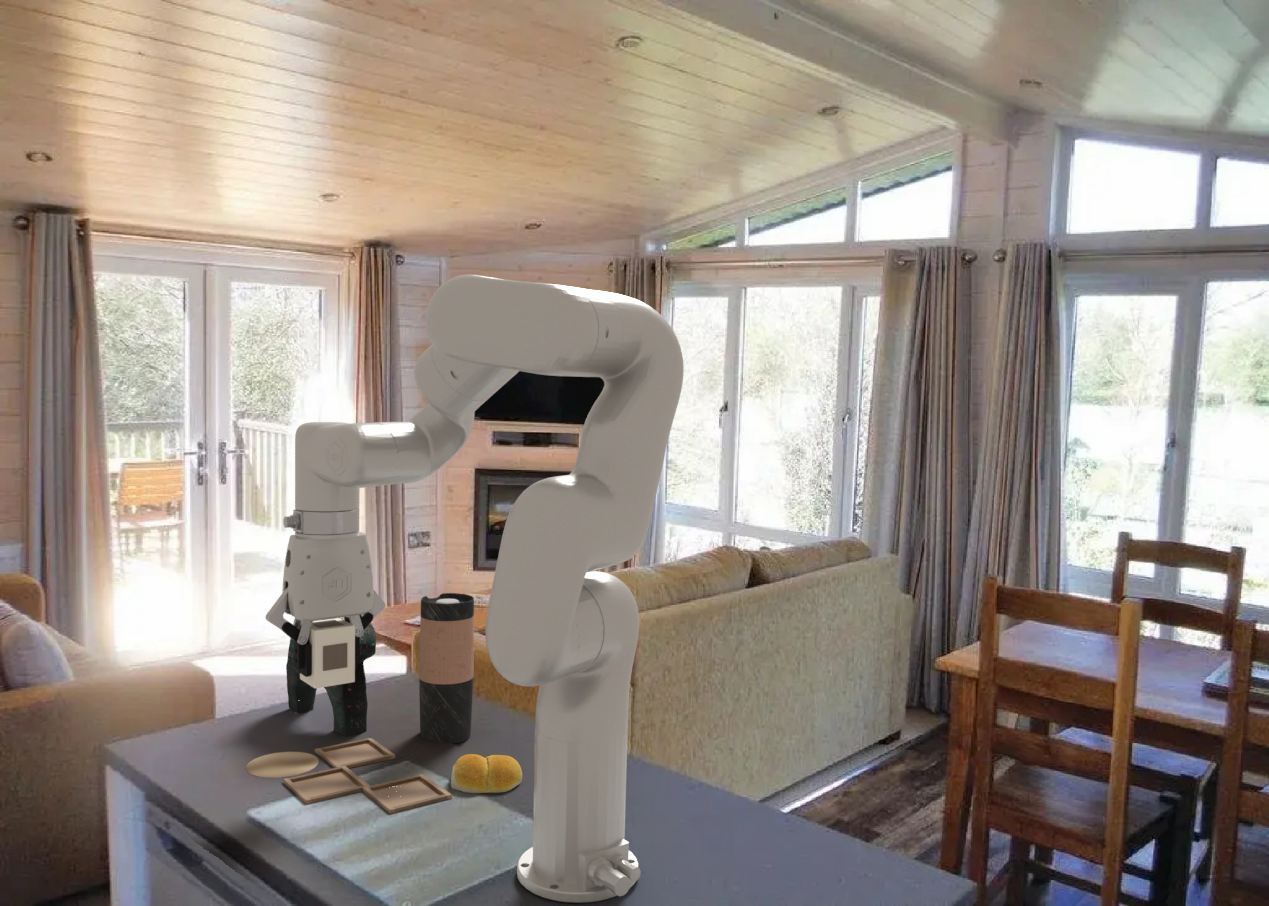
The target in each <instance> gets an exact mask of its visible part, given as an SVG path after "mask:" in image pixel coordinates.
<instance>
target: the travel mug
mask: <svg viewBox="0 0 1269 906" xmlns="http://www.w3.org/2000/svg"><path fill="white" fill-rule="evenodd" d="M419 620H420V624H419V626H420V629H419V630H420V632H419V667H418V668H419V671H418V684H419V685H418V686H419V693H418V694H419V733H420V734H419V735H420V737H421V738H422V739H423V740H426V741H429V742H434V743H435V742H436V743H452V744H454V745H455V744H459V743H462V742H465V741H467V740H469V738H470V737H471V734H472V717H473V694H474V676H475V675H474V674H475V673H474V668H475V667H474V666H475V665H474V661H475V659H474V657H475V656H474V655H475V654H474V653H475V651H474V649H475V648H474V647H475V639H474V638H475V598H474V596H472V595H469V594H464V593H457V592H456V593H454V592H445V593H441V594H440V595H439V596H437V597H431V598H430V597H428V595H424V596H423V597H421V599H420V619H419Z"/></svg>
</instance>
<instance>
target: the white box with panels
mask: <svg viewBox="0 0 1269 906" xmlns="http://www.w3.org/2000/svg"><path fill="white" fill-rule="evenodd" d="M340 618H341V617H340ZM340 618H335V619H327V620H319V621H313V623H312V626H311V630H310V634H309V637H308V638H309V643H310V644H311V646H312V674H311V676H308V677H305V676H304V675H302V674H301V673H300V679H301V680H302V681H304V682H305V683H307V684H309V685H310V686H312V687H313V688H315V689H316V688H317V689H321V688H324V687H328V686H334V685H340V684H346V683H352V682H355V625H353V624H351V623H349V622H346V621H344V620H342V619H340Z"/></svg>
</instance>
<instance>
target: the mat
mask: <svg viewBox="0 0 1269 906" xmlns="http://www.w3.org/2000/svg"><path fill="white" fill-rule="evenodd" d="M319 762H320V761H319V758H318V757H317V756H316V755H314V754H313V753H309V752H303V751H281V752H279V751H278V752H273V753H269V754H268V753H267V754H264V755H261V756H258V757H256V758H253V759H252V760H250V761H249V762H248V763H247V764H246V766H245V770H246V772H247V773H248V774H250V775H253V776H256V777H260V778H271V779H272V778H275V779H276V778H277V779H279V778H286V777H287V778H289V777H295V776H299V775H303V774H306V773H308V772H309V771H312V770H313V769H315V768H316V767H317V766H318V765H319Z"/></svg>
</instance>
